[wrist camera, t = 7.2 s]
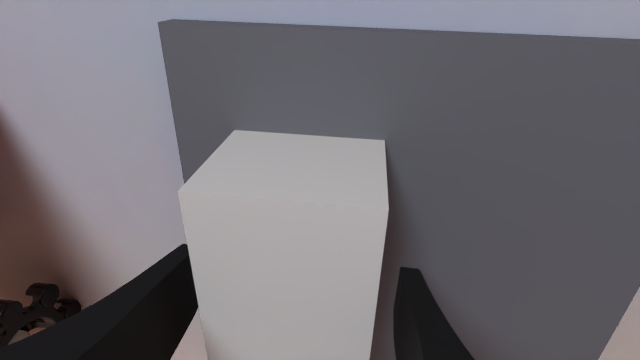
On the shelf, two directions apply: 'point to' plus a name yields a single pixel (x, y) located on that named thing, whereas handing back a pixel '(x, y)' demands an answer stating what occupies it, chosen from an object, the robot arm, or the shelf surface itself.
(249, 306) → the block
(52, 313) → the valve
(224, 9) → the shelf surface
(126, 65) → the shelf surface
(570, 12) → the shelf surface
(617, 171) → the board
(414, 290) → the robot arm
